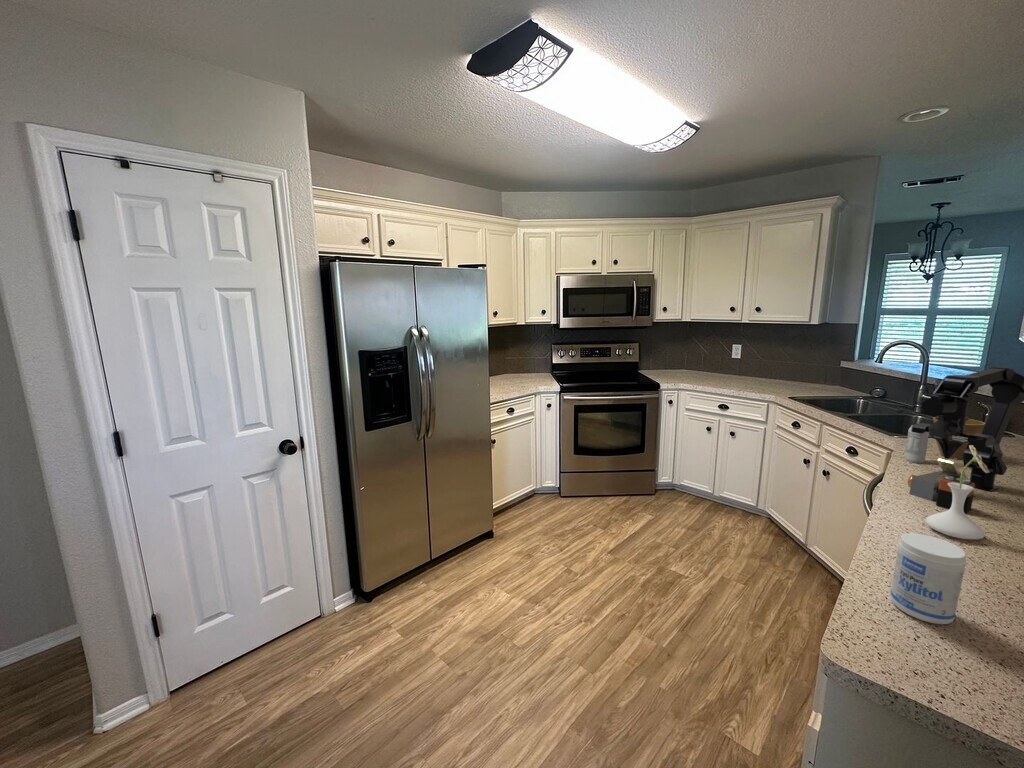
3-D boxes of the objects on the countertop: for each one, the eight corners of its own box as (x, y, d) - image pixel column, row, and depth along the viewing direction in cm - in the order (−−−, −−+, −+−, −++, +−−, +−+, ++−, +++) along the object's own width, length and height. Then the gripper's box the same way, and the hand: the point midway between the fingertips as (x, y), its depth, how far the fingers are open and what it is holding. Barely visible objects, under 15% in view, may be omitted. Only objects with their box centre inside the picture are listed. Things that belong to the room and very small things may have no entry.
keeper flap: (943, 472, 143) (944, 469, 143) (960, 476, 139) (961, 474, 139) (936, 460, 141) (937, 457, 141) (953, 464, 137) (955, 461, 137)
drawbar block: (938, 487, 145) (940, 470, 144) (961, 493, 139) (963, 476, 138) (909, 493, 140) (911, 477, 139) (931, 501, 134) (934, 483, 133)
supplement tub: (890, 612, 85) (900, 546, 82) (888, 588, 92) (897, 527, 89) (959, 634, 78) (971, 564, 76) (951, 607, 86) (962, 542, 83)
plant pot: (970, 454, 178) (976, 418, 175) (985, 465, 165) (992, 426, 163) (923, 449, 186) (928, 414, 183) (933, 458, 173) (939, 421, 171)
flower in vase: (974, 548, 107) (991, 456, 103) (916, 528, 117) (930, 444, 113) (992, 535, 113) (1008, 448, 109) (936, 518, 123) (949, 437, 119)
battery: (965, 514, 125) (970, 483, 123) (935, 505, 131) (939, 475, 129) (971, 511, 127) (976, 480, 125) (940, 502, 133) (945, 473, 131)
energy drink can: (928, 463, 167) (934, 428, 165) (913, 463, 167) (919, 428, 165) (914, 458, 173) (919, 424, 171) (900, 458, 173) (905, 424, 171)
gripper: (904, 410, 142) (898, 453, 145) (979, 422, 125) (970, 471, 127) (924, 407, 146) (918, 449, 148) (999, 419, 129) (991, 466, 131)
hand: (946, 458), depth 139 cm, fingers closed
